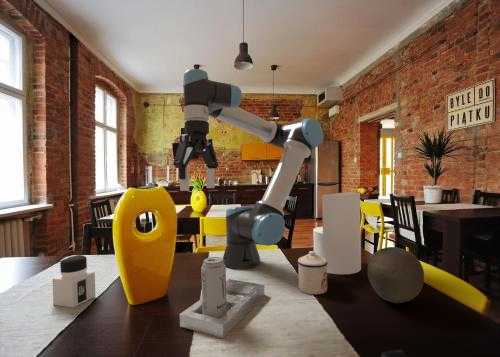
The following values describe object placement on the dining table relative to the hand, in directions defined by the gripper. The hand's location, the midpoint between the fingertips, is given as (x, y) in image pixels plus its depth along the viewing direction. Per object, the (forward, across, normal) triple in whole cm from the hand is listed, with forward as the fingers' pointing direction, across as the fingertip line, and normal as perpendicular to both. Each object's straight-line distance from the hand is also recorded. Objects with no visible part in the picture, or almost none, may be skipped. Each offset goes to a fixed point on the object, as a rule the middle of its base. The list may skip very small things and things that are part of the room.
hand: (198, 189), depth 88 cm
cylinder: (+32, +38, -36) cm, 61 cm away
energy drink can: (+32, -14, -14) cm, 38 cm away
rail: (+32, -8, -14) cm, 36 cm away
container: (+32, -21, +30) cm, 49 cm away
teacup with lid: (+32, +15, -32) cm, 48 cm away
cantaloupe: (+32, +13, -55) cm, 65 cm away
